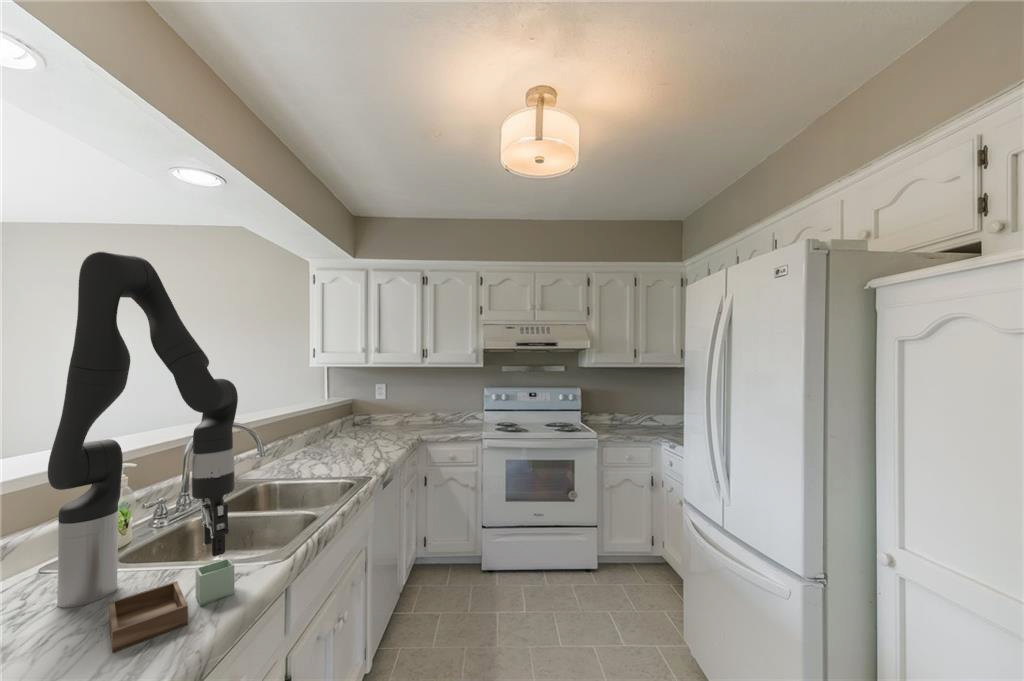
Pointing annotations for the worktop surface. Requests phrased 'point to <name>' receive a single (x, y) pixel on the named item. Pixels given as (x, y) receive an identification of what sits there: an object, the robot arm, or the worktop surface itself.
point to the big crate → (146, 615)
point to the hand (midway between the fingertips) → (214, 548)
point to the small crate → (214, 581)
